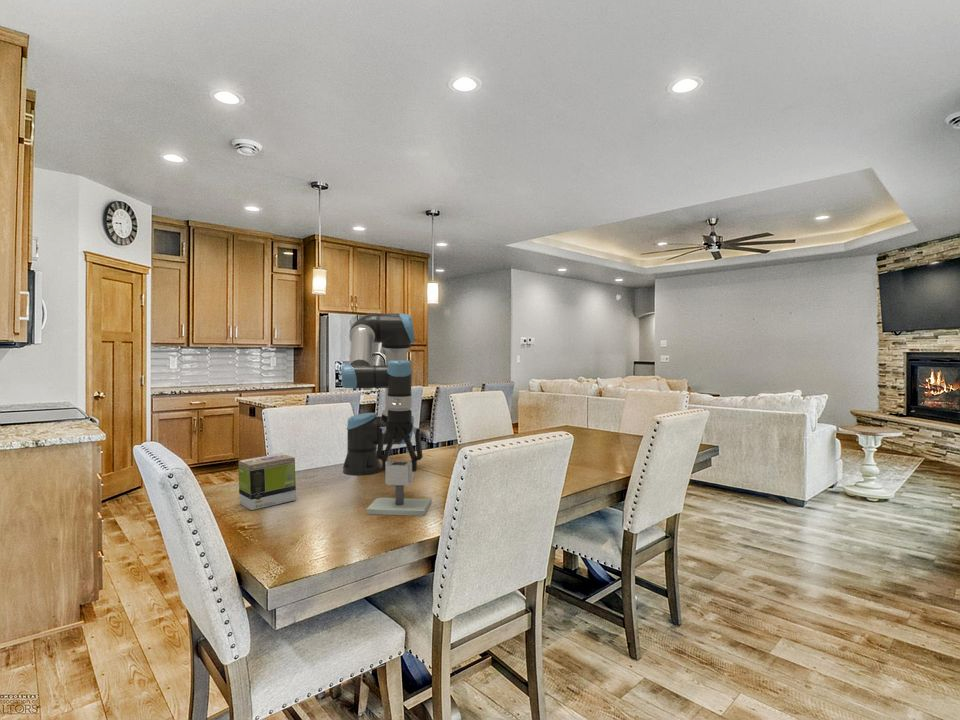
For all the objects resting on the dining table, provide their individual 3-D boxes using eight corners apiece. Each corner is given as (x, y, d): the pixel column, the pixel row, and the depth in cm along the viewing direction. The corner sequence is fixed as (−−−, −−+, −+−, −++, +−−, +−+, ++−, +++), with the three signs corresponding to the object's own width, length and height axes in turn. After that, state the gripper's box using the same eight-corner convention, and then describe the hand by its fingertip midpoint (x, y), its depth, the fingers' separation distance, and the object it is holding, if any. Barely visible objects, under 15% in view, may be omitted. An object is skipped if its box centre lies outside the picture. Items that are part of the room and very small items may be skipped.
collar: (391, 479, 169) (391, 460, 169) (412, 479, 168) (412, 461, 168) (385, 484, 162) (385, 465, 162) (407, 485, 161) (407, 466, 161)
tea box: (283, 494, 180) (283, 452, 180) (296, 501, 173) (296, 457, 172) (238, 504, 170) (237, 459, 169) (250, 511, 162) (249, 464, 162)
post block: (377, 502, 172) (377, 466, 172) (430, 503, 171) (431, 468, 170) (366, 513, 160) (366, 476, 160) (423, 515, 159) (423, 477, 158)
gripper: (365, 410, 162) (365, 483, 162) (428, 411, 160) (428, 485, 161) (372, 407, 169) (372, 477, 170) (432, 408, 167) (432, 479, 168)
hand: (399, 481), depth 165 cm, fingers closed on collar, 7 cm apart
